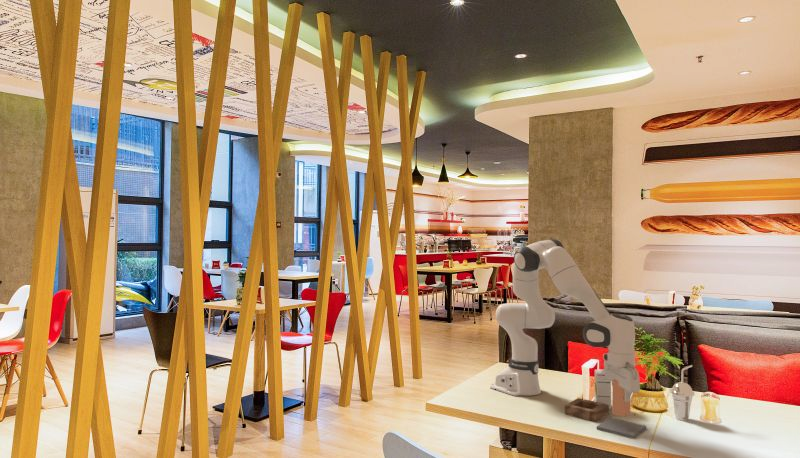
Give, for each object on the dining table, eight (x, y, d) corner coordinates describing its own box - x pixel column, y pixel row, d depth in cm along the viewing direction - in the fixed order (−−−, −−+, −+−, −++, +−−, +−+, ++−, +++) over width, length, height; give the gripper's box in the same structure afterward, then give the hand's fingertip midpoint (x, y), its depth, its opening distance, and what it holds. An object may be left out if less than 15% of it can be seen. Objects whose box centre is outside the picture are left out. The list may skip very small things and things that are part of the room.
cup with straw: (665, 414, 214) (665, 363, 214) (689, 415, 214) (689, 363, 214) (675, 422, 206) (676, 368, 206) (700, 422, 205) (700, 369, 205)
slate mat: (596, 429, 198) (596, 426, 198) (610, 420, 208) (610, 417, 208) (633, 438, 189) (633, 435, 189) (646, 428, 199) (646, 425, 199)
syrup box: (611, 409, 220) (611, 373, 220) (596, 408, 221) (596, 372, 221) (609, 405, 226) (609, 369, 226) (594, 404, 227) (594, 368, 227)
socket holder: (564, 414, 214) (564, 405, 214) (578, 406, 223) (578, 398, 223) (595, 421, 206) (596, 412, 206) (609, 413, 215) (609, 404, 215)
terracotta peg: (612, 413, 199) (612, 380, 199) (618, 410, 202) (618, 377, 202) (624, 416, 195) (624, 382, 195) (630, 413, 198) (630, 380, 198)
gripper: (645, 366, 188) (644, 407, 188) (617, 353, 209) (616, 389, 209) (627, 366, 188) (626, 407, 188) (601, 353, 208) (600, 390, 208)
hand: (621, 398), depth 199 cm, fingers closed on terracotta peg, 6 cm apart
